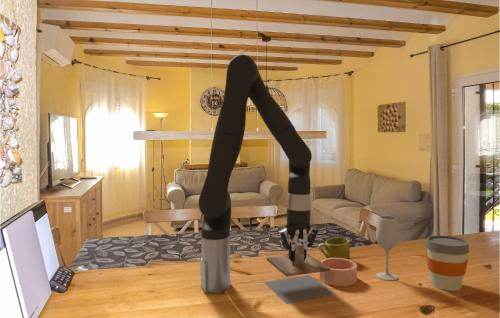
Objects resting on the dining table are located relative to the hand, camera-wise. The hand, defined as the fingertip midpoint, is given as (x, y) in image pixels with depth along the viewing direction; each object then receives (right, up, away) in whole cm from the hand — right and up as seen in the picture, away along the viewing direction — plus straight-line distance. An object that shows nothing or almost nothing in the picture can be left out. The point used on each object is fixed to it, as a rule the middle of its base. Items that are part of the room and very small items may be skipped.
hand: (297, 260), depth 121 cm
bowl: (+15, -9, +8) cm, 19 cm away
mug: (+18, -8, +28) cm, 34 cm away
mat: (0, -10, +1) cm, 10 cm away
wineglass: (+33, -9, +11) cm, 36 cm away
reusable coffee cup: (+49, -9, +4) cm, 50 cm away
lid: (0, -2, 0) cm, 2 cm away
